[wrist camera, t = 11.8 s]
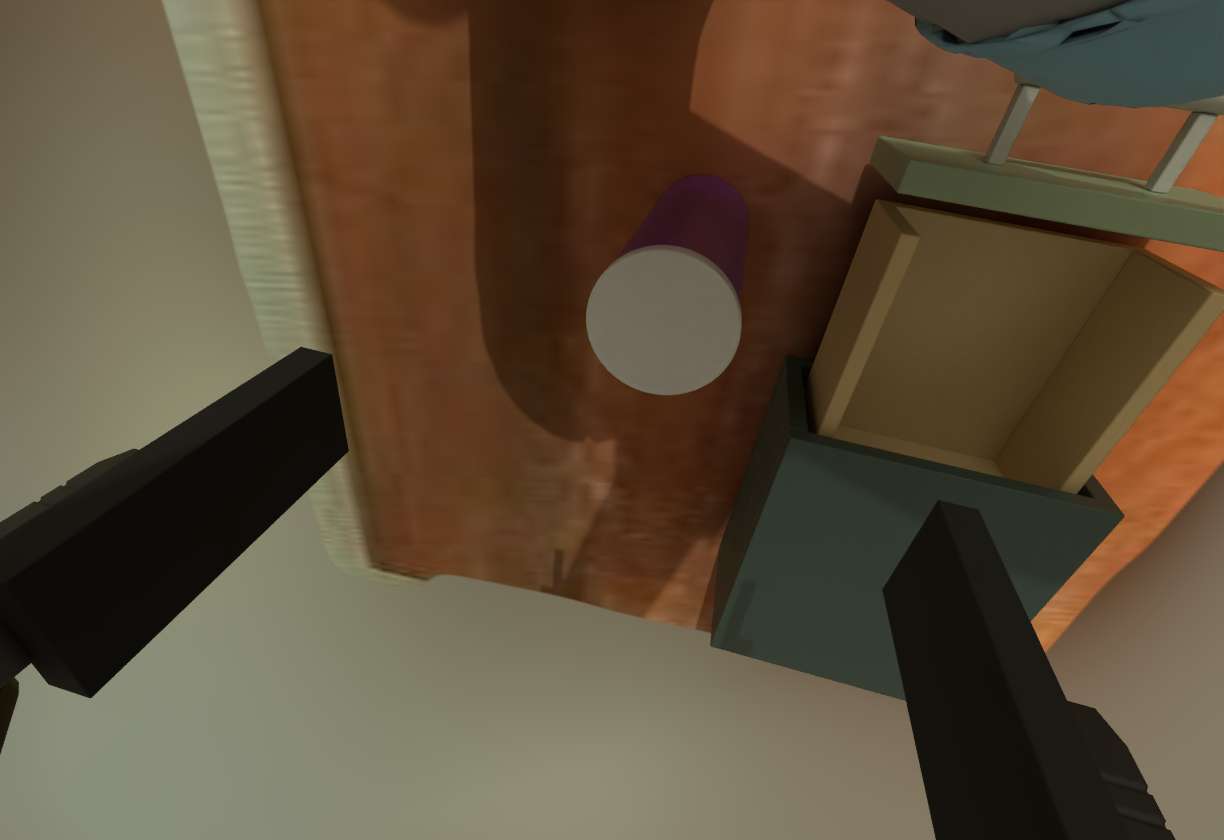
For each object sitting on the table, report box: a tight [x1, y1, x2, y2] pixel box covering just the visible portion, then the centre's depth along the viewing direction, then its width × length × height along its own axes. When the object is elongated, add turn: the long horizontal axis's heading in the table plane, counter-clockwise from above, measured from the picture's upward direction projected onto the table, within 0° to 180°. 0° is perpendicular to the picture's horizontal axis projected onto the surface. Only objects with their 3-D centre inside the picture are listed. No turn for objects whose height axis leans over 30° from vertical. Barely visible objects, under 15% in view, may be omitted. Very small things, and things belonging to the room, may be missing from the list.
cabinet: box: [710, 356, 1124, 701], centre depth 34 cm, size 17×15×9 cm
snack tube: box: [586, 175, 749, 395], centre depth 25 cm, size 5×5×14 cm
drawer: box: [804, 73, 1224, 494], centre depth 26 cm, size 20×14×7 cm
